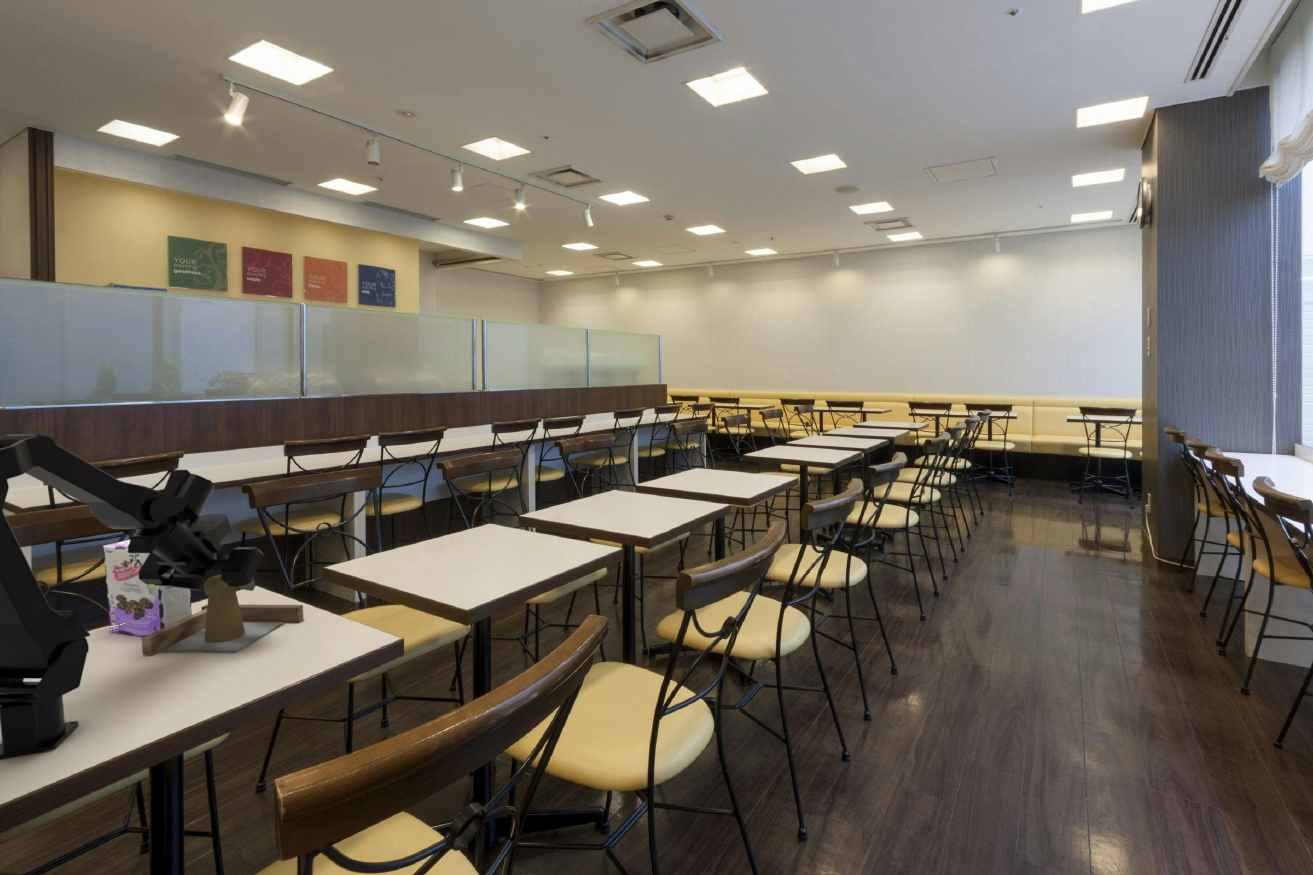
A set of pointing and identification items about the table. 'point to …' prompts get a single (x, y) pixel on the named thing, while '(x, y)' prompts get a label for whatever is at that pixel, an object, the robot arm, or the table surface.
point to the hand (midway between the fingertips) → (228, 588)
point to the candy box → (139, 595)
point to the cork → (222, 612)
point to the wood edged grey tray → (192, 639)
